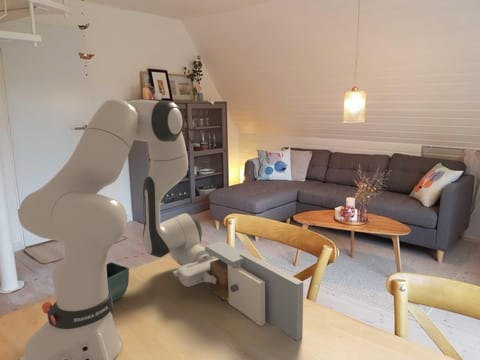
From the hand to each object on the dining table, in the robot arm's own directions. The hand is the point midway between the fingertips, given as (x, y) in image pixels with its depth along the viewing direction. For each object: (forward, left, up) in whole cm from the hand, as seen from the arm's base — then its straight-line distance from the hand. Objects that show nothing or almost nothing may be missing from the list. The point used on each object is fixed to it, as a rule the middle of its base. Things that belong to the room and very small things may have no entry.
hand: (224, 278), depth 107 cm
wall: (+2, -9, -7) cm, 12 cm away
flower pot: (-26, +23, -7) cm, 35 cm away
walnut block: (0, +1, -5) cm, 5 cm away
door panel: (-1, -9, -7) cm, 12 cm away
